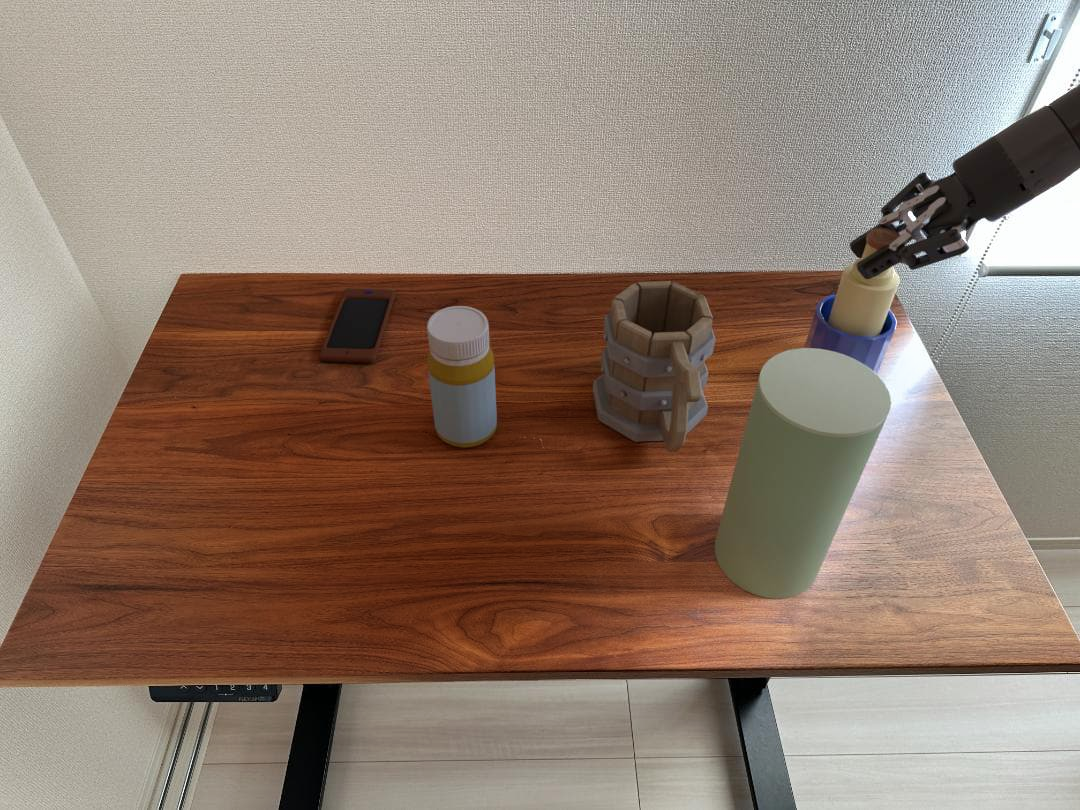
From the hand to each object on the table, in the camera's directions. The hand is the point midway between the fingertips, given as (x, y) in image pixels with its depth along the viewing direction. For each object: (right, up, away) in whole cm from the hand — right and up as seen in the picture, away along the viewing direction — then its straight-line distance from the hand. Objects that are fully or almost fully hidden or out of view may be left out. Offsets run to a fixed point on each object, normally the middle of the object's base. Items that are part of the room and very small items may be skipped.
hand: (857, 261), depth 86 cm
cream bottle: (+2, -9, +8) cm, 13 cm away
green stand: (-13, -31, -10) cm, 35 cm away
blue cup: (+2, -11, +10) cm, 15 cm away
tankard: (-22, -19, +3) cm, 29 cm away
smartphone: (-59, -6, +16) cm, 61 cm away
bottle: (-44, -19, +2) cm, 48 cm away
